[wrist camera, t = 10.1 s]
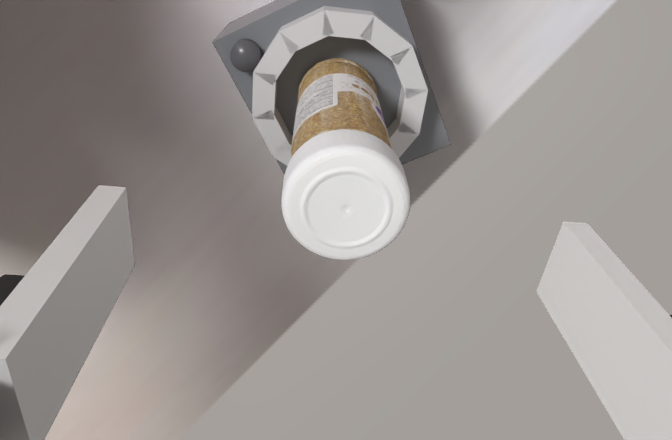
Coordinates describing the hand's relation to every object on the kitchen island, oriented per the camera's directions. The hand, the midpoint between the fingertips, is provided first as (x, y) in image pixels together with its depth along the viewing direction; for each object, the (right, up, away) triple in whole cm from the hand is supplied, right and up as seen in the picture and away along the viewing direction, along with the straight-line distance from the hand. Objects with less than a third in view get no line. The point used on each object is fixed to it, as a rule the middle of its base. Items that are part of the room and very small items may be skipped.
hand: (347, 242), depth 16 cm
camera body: (0, +11, +19) cm, 22 cm away
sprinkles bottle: (0, +8, +14) cm, 16 cm away
